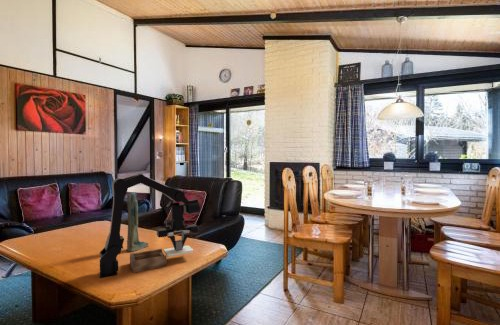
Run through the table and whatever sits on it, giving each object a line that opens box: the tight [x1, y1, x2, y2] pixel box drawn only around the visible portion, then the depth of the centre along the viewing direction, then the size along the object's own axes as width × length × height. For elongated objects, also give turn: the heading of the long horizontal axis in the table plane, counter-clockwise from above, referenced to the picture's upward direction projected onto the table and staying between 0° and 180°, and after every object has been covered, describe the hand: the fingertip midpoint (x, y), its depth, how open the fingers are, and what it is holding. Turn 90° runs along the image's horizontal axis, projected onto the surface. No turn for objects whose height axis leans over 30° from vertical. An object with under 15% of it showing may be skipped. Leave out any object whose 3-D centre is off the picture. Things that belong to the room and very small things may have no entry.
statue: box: [125, 192, 149, 253], centre depth 152 cm, size 7×11×30 cm, turn 149°
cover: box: [163, 239, 195, 258], centre depth 135 cm, size 12×9×5 cm
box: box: [129, 248, 167, 273], centre depth 129 cm, size 14×12×4 cm
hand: (178, 248), depth 135 cm, fingers closed on cover, 3 cm apart
